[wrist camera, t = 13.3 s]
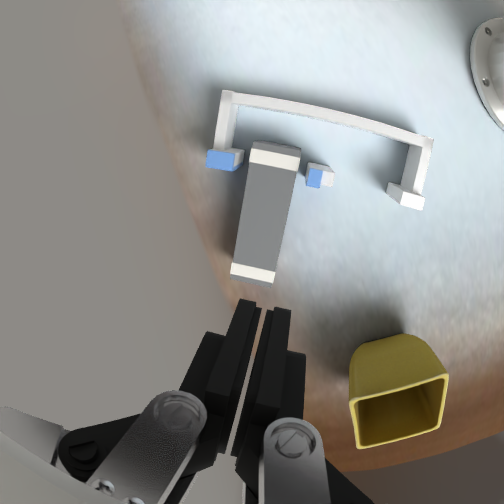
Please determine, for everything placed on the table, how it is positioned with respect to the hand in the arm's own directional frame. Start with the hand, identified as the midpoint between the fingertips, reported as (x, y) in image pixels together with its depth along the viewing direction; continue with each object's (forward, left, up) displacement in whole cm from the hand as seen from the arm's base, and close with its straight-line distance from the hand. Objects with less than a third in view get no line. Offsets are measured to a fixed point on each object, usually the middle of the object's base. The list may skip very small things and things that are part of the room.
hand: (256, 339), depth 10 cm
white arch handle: (-6, +2, -17) cm, 19 cm away
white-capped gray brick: (0, -1, -17) cm, 17 cm away
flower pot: (+13, +14, -18) cm, 26 cm away
